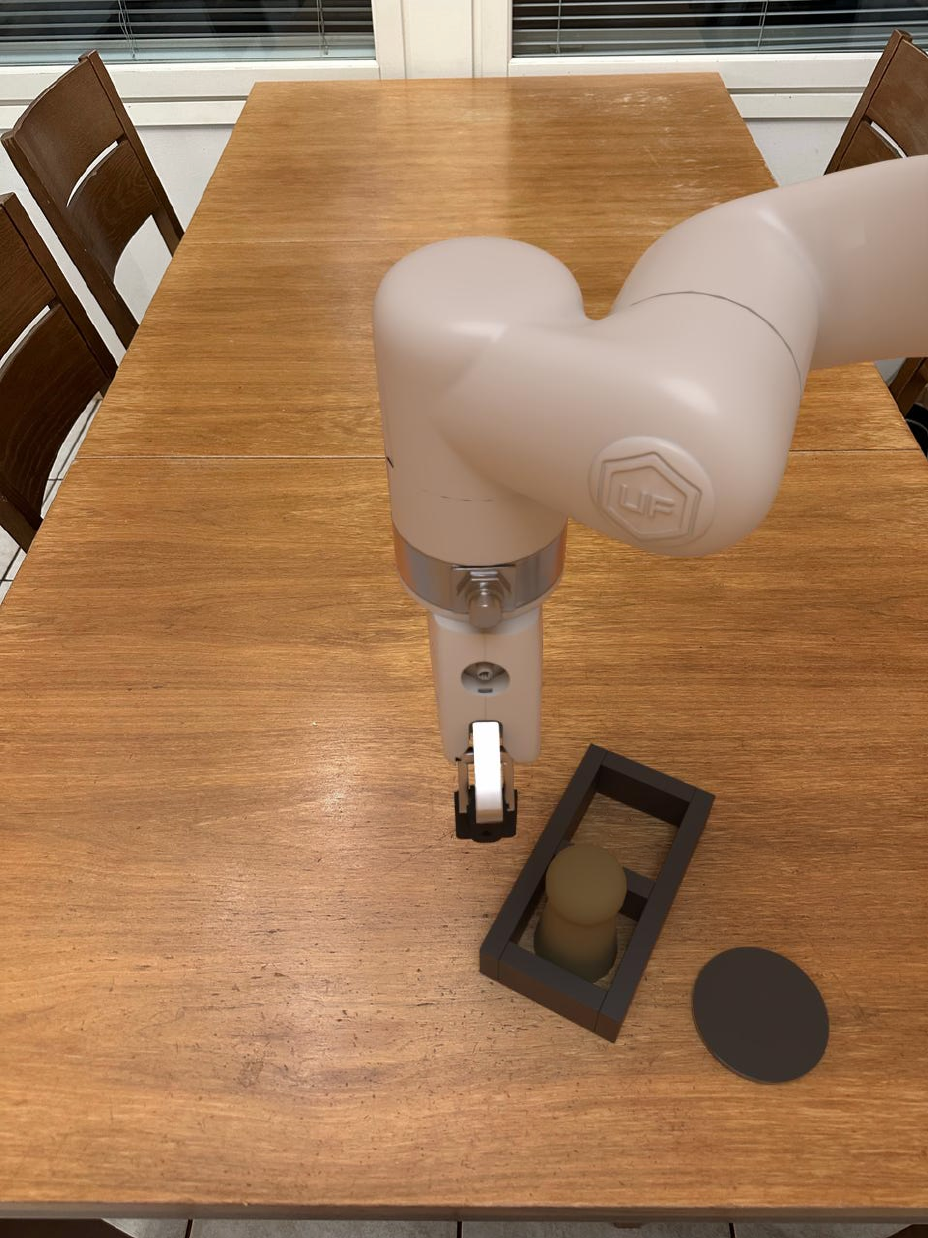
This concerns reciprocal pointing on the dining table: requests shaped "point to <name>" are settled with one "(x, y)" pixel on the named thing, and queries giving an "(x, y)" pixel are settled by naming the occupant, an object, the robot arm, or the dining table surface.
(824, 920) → the dining table surface
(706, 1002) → the coaster
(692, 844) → the holder
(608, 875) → the cork
